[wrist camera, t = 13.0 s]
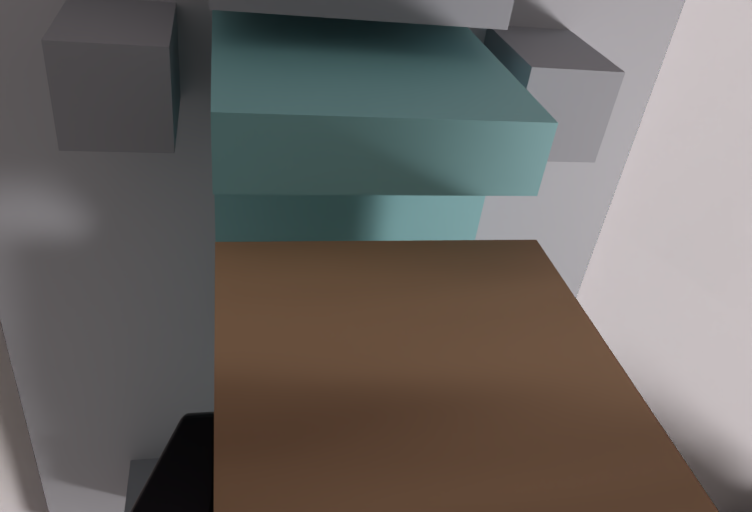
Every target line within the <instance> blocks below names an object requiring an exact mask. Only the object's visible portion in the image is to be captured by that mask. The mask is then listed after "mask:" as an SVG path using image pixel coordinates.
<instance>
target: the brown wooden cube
mask: <svg viewBox="0 0 752 512" xmlns="http://www.w3.org/2000/svg"><path fill="white" fill-rule="evenodd" d="M214 512H719V511H718V510H717V508H716V507H715V505H714V504H713V502H712V501H711V499H710V498H709V496H708V495H707V493H706V492H705V490H704V489H703V487H702V486H701V484H700V483H699V481H698V480H697V478H696V477H695V475H694V474H693V472H692V471H691V469H690V468H689V466H688V465H687V463H686V462H685V460H684V459H683V457H682V456H681V454H680V453H679V451H678V450H677V448H676V447H675V445H674V444H673V442H672V441H671V440H670V438H669V437H668V435H667V434H666V432H665V431H664V429H663V428H662V426H661V425H660V423H659V422H658V420H657V419H656V417H655V416H654V414H653V413H652V411H651V410H650V408H649V407H648V405H647V404H646V402H645V401H644V399H643V398H642V396H641V395H640V393H639V392H638V390H637V389H636V387H635V386H634V384H633V383H632V381H631V380H630V378H629V377H628V375H627V374H626V372H625V371H624V369H623V368H622V366H621V365H620V363H619V362H618V360H617V359H616V357H615V356H614V354H613V353H612V351H611V350H610V349H609V347H608V346H607V344H606V343H605V341H604V340H603V338H602V337H601V335H600V334H599V332H598V331H597V329H596V328H595V326H594V325H593V323H592V322H591V320H590V319H589V317H588V316H587V314H586V313H585V311H584V310H583V308H582V307H581V305H580V304H579V302H578V301H577V299H576V298H575V296H574V295H573V293H572V292H571V290H570V289H569V287H568V286H567V284H566V283H565V281H564V280H563V278H562V277H561V275H560V274H559V272H558V271H557V269H556V268H555V266H554V265H553V263H552V262H551V260H550V259H549V258H548V256H547V255H546V253H545V252H544V250H543V249H542V247H541V246H540V244H539V243H538V241H537V240H412V241H270V242H215V344H214Z"/></svg>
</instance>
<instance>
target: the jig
mask: <svg viewBox="0 0 752 512" xmlns="http://www.w3.org/2000/svg"><path fill="white" fill-rule="evenodd" d="M684 3H685V0H0V321H1V325H2V329H3V333H4V337H5V341H6V345H7V349H8V353H9V357H10V361H11V365H12V369H13V373H14V376H15V380H16V384H17V388H18V392H19V396H20V400H21V404H22V408H23V412H24V416H25V420H26V424H27V428H28V431H29V435H30V439H31V443H32V447H33V451H34V455H35V459H36V463H37V467H38V471H39V475H40V479H41V483H42V486H43V490H44V494H45V498H46V502H47V506H48V510H49V512H130V510H131V509H132V507H133V505H134V503H135V501H136V499H137V498H138V496H139V494H140V492H141V490H142V488H143V487H144V485H145V483H146V481H147V479H148V477H149V476H150V474H151V472H152V470H153V468H154V466H155V465H156V463H157V461H158V459H159V457H160V455H161V454H162V452H163V450H164V448H165V446H166V444H167V443H168V441H169V439H170V437H171V435H172V433H173V432H174V430H175V428H176V426H177V424H178V422H179V421H180V419H181V418H182V417H183V415H185V414H187V413H196V412H214V344H215V242H216V241H215V198H214V194H213V191H212V151H211V55H212V10H220V11H235V12H250V13H265V14H279V15H294V16H309V17H323V18H338V19H353V20H368V21H382V22H397V23H412V24H427V25H441V26H456V27H468V28H469V29H470V30H471V31H472V32H473V33H474V35H475V36H476V37H477V38H478V39H479V40H480V41H481V42H482V43H483V44H484V45H485V46H486V47H487V48H488V49H489V50H490V51H491V52H492V53H493V55H494V56H495V57H496V58H497V59H498V60H499V61H500V62H501V63H502V64H503V65H504V66H505V67H506V68H507V69H508V70H509V71H510V72H511V74H512V75H513V76H514V77H515V78H516V79H517V80H518V81H519V82H520V83H521V84H522V85H523V86H524V87H525V88H526V89H527V90H528V91H529V93H530V94H531V95H532V96H533V97H534V98H535V99H536V100H537V101H538V102H539V103H540V104H541V105H542V106H543V107H544V108H545V109H546V110H547V112H548V113H549V114H550V115H551V116H552V117H553V118H554V119H555V120H556V121H557V122H558V126H557V129H556V133H555V136H554V140H553V143H552V147H551V150H550V153H549V157H548V160H547V164H546V167H545V171H544V174H543V178H542V181H541V185H540V188H539V192H538V195H537V196H485V200H484V204H483V209H482V213H481V217H480V221H479V225H478V230H477V234H476V238H475V240H537V241H538V243H539V244H540V246H541V247H542V249H543V250H544V252H545V253H546V255H547V256H548V258H549V259H550V260H551V262H552V263H553V265H554V266H555V268H556V269H557V271H558V272H559V274H560V275H561V277H562V278H563V280H564V281H565V283H566V284H567V286H568V287H569V289H570V290H571V292H572V293H573V295H574V296H575V298H576V297H577V294H578V291H579V288H580V286H581V283H582V280H583V277H584V275H585V272H586V269H587V267H588V264H589V261H590V258H591V256H592V253H593V250H594V248H595V245H596V242H597V239H598V237H599V234H600V231H601V228H602V226H603V223H604V220H605V218H606V215H607V212H608V209H609V207H610V204H611V201H612V199H613V196H614V193H615V190H616V188H617V185H618V182H619V179H620V177H621V174H622V171H623V169H624V166H625V163H626V160H627V158H628V155H629V152H630V150H631V147H632V144H633V141H634V139H635V136H636V133H637V131H638V128H639V125H640V122H641V120H642V117H643V114H644V111H645V109H646V106H647V103H648V101H649V98H650V95H651V92H652V90H653V87H654V84H655V82H656V79H657V76H658V73H659V71H660V68H661V65H662V62H663V60H664V57H665V54H666V52H667V49H668V46H669V43H670V41H671V38H672V35H673V33H674V30H675V27H676V24H677V22H678V19H679V16H680V13H681V11H682V8H683V5H684Z"/></svg>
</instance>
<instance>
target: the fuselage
mask: <svg viewBox="0 0 752 512" xmlns="http://www.w3.org/2000/svg"><path fill="white" fill-rule="evenodd" d="M557 126H558V122H557V121H556V120H555V119H554V118H553V117H552V116H551V115H550V114H549V113H548V112H547V110H546V109H545V108H544V107H543V106H542V105H541V104H540V103H539V102H538V101H537V100H536V99H535V98H534V97H533V96H532V95H531V94H530V93H529V91H528V90H527V89H526V88H525V87H524V86H523V85H522V84H521V83H520V82H519V81H518V80H517V79H516V78H515V77H514V76H513V75H512V74H511V72H510V71H509V70H508V69H507V68H506V67H505V66H504V65H503V64H502V63H501V62H500V61H499V60H498V59H497V58H496V57H495V56H494V55H493V53H492V52H491V51H490V50H489V49H488V48H487V47H486V46H485V45H484V44H483V43H482V42H481V41H480V40H479V39H478V38H477V37H476V36H475V35H474V33H473V32H472V31H471V30H470V29H469V28H468V27H456V26H441V25H427V24H412V23H397V22H382V21H368V20H353V19H338V18H323V17H309V16H294V15H279V14H265V13H250V12H235V11H220V10H212V55H211V151H212V191H213V194H214V198H215V241H216V242H270V241H412V240H475V238H476V234H477V230H478V225H479V221H480V217H481V213H482V209H483V204H484V200H485V196H537V195H538V192H539V188H540V185H541V181H542V178H543V174H544V171H545V167H546V164H547V160H548V157H549V153H550V150H551V147H552V143H553V140H554V136H555V133H556V129H557Z"/></svg>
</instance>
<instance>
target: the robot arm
mask: <svg viewBox="0 0 752 512" xmlns="http://www.w3.org/2000/svg"><path fill="white" fill-rule="evenodd" d="M130 512H214V412H196V413H187V414H185V415H183V417H182V418H181V419H180V421H179V422H178V424H177V426H176V428H175V430H174V432H173V433H172V435H171V437H170V439H169V441H168V443H167V444H166V446H165V448H164V450H163V452H162V454H161V455H160V457H159V459H158V461H157V463H156V465H155V466H154V468H153V470H152V472H151V474H150V476H149V477H148V479H147V481H146V483H145V485H144V487H143V488H142V490H141V492H140V494H139V496H138V498H137V499H136V501H135V503H134V505H133V507H132V509H131V510H130Z"/></svg>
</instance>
